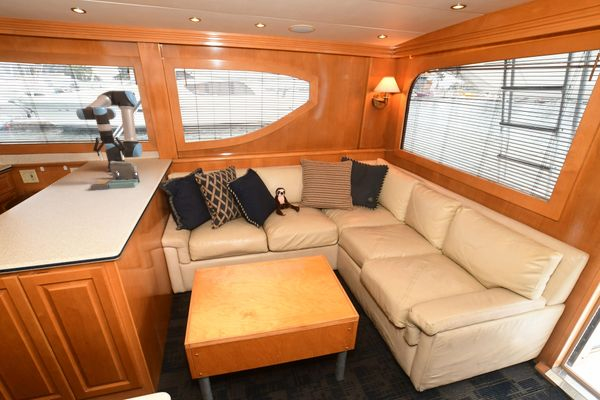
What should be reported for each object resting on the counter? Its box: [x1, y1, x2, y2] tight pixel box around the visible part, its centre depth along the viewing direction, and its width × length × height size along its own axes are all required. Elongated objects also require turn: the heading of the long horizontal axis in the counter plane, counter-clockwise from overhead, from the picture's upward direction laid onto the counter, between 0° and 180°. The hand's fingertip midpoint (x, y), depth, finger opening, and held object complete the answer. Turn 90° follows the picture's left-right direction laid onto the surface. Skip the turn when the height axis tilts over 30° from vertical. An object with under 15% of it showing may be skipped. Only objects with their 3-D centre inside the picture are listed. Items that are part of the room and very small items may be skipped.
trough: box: [108, 179, 139, 190], centre depth 195 cm, size 8×16×4 cm, turn 104°
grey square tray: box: [90, 179, 114, 191], centre depth 192 cm, size 10×10×4 cm
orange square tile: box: [93, 180, 109, 185], centre depth 191 cm, size 7×7×1 cm
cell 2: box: [131, 170, 141, 184], centre depth 203 cm, size 4×4×9 cm
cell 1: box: [113, 171, 123, 181], centre depth 202 cm, size 4×4×9 cm
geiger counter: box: [105, 161, 139, 180], centre depth 209 cm, size 14×6×25 cm
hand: (113, 160), depth 197 cm, fingers open, 13 cm apart
